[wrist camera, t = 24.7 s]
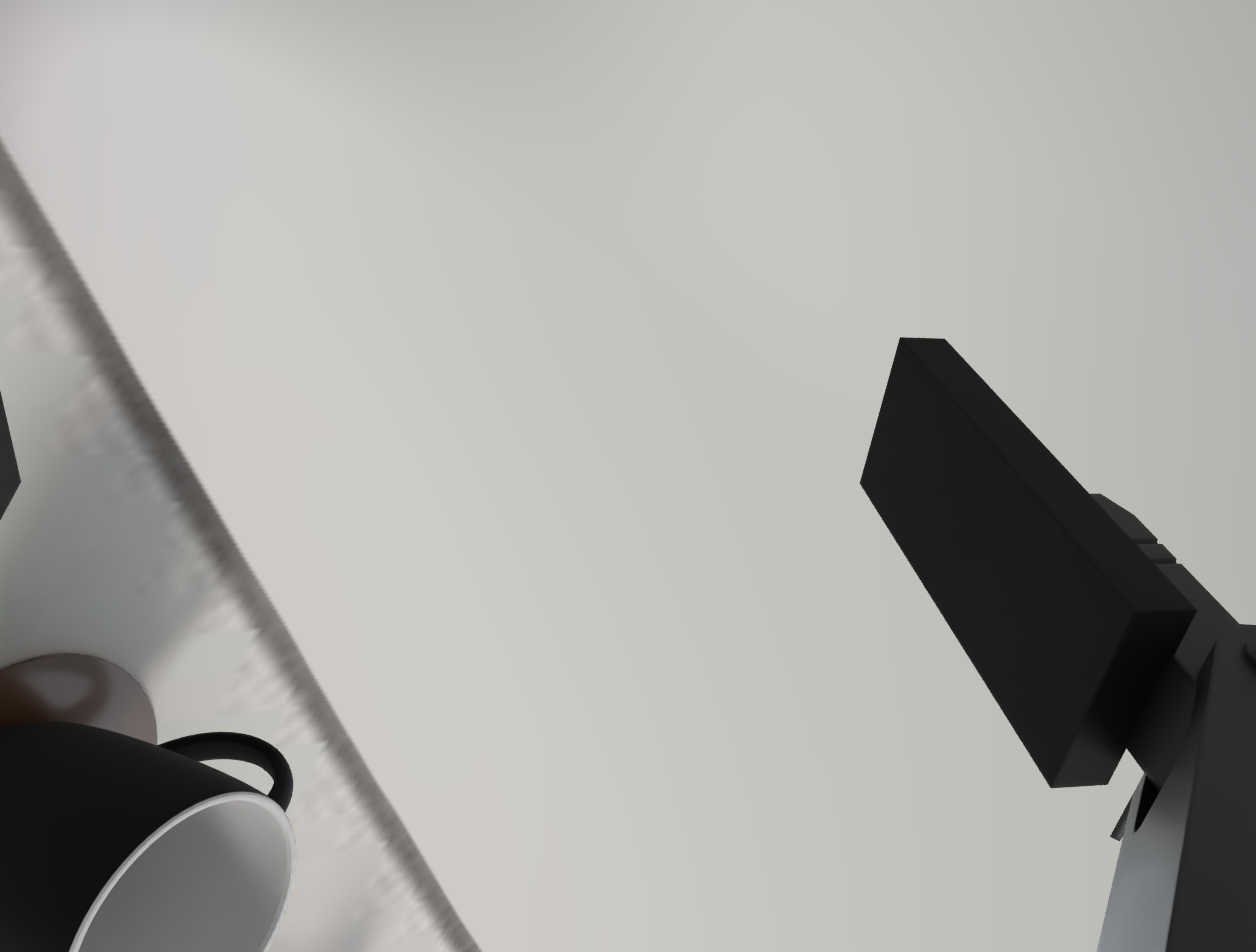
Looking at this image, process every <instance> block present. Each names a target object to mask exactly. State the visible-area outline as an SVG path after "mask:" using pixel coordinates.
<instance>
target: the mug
mask: <svg viewBox="0 0 1256 952" xmlns="http://www.w3.org/2000/svg"><path fill="white" fill-rule="evenodd" d="M213 759H233V760H241V761H245V762H249V763H252V764H255V765H258V766H259V767H261V768H263V769H264V770H265V771H267V772H268V773H269V774H270V776H271V777H272V778H273V780H274V784H273V787H272V789H271V791H270V792H269V794H268V795H265V794H264V793H262V792H260V791H259V790H257V789H255V788H253V787H252V786H250V785H248V784H246V783H244V782H242V781H240V780H238V779H236V778H234V777H232V776H230V775H227V774H225V773H223V772H221V771H219V770H217V769H214V768H212V767H210V766H207V765H205V764H203V763H200V762H199V761H205V760H213ZM292 791H293V777H292V773H291V770H290V767H289V764H288V763H287V761H286V759H285V758H284V756H283V755H282V754H281V753H280V752H279V751H278V749H276V748H275V747H274V746H272V745H271V744H269V743H267V742H265V741H263V740H261V739H259V738H256V737H254V736H250V735H246V734H241V733H233V732H210V733H202V734H196V735H191V736H186V737H182V738H178V739H175V740H172V741H169V742H166V743H163V744H160V745H154V744H151V743H148V742H146V741H143V740H140V739H137V738H134V737H130V736H127V735H124V734H121V733H117V732H114V731H110V730H106V729H102V728H98V727H94V726H89V725H84V724H79V723H72V722H63V721H39V722H30V723H24V724H19V725H15V726H11V727H8V728H5V729H2V730H0V952H267V950H268V949H269V947H270V945H271V943H272V941H273V939H274V937H275V935H276V933H277V931H278V928H279V926H280V924H281V921H282V919H283V916H284V914H285V911H286V908H287V905H288V902H289V899H290V895H291V891H292V887H293V882H294V877H295V869H296V843H295V837H294V832H293V829H292V825H291V823H290V821H289V818H288V817H287V815H286V813H285V812H286V810H287V808H288V805H289V803H290V800H291V797H292Z"/></svg>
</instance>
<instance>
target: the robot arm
mask: <svg viewBox="0 0 1256 952" xmlns="http://www.w3.org/2000/svg"><path fill="white" fill-rule="evenodd" d="M20 483H21V480H20V475H19V471H18V467H17V462H16V458H15V453H14V449H13V445H12V440H11V436H10V431H9V427H8V423H7V418H6V414H5V410H4V405H3V401H2V396H1V392H0V520H1V518H2V516H3V514H4V512H5V511H6V509H7V507H8V505H9V503H10V501H11V500H12V498H13V496H14V494H15V492H16V490H17V488H18V487H19V485H20ZM860 484H861V486H862V488H863V489H864V491H865V492H866V494H867V496H868V497H869V499H870V500H871V502H872V504H873V505H874V507H875V508H876V510H877V512H878V513H879V515H880V516H881V518H882V520H883V521H884V523H885V524H886V526H887V528H888V529H889V530H890V532H891V534H892V535H893V537H894V539H895V540H896V542H897V543H898V545H899V547H900V548H901V550H902V551H903V553H904V555H905V556H906V558H907V559H908V561H909V563H910V564H911V566H912V567H913V569H914V571H915V572H916V574H917V575H918V577H919V579H920V580H921V582H922V583H923V585H924V587H925V588H926V590H927V591H928V593H929V595H930V596H931V598H932V599H933V601H934V602H935V604H936V606H937V607H938V609H939V610H940V612H941V614H942V615H943V617H944V618H945V620H946V622H947V623H948V625H949V626H950V628H951V630H952V631H953V633H954V634H955V636H956V638H957V639H958V641H959V642H960V644H961V646H962V647H963V649H964V650H965V652H966V654H967V655H968V656H969V658H970V660H971V662H972V663H973V665H974V666H975V668H976V669H977V671H978V673H979V674H980V676H981V677H982V679H983V680H984V682H985V684H986V685H987V687H988V689H989V690H990V692H991V693H992V695H993V697H994V698H995V700H996V701H997V703H998V704H999V706H1000V708H1001V709H1002V711H1003V712H1004V714H1005V716H1006V717H1007V719H1008V720H1009V722H1010V724H1011V725H1012V727H1013V728H1014V730H1015V732H1016V733H1017V735H1018V736H1019V738H1020V740H1021V741H1022V742H1023V744H1024V746H1025V748H1026V749H1027V750H1028V752H1029V754H1030V756H1031V757H1032V759H1033V760H1034V762H1035V764H1036V765H1037V767H1038V768H1039V770H1040V772H1041V773H1042V775H1043V776H1044V778H1045V780H1046V781H1047V783H1048V784H1049V786H1050V787H1051V788H1061V787H1077V786H1094V785H1107V784H1108V783H1109V781H1110V779H1111V777H1112V775H1113V773H1114V771H1115V769H1116V767H1117V765H1118V763H1119V761H1120V759H1121V758H1122V756H1123V754H1124V752H1125V750H1126V748H1127V749H1128V751H1129V752H1130V753H1131V755H1132V756H1133V757H1134V759H1135V760H1136V762H1137V763H1138V764H1139V766H1140V767H1141V768H1142V770H1143V771H1144V775H1143V777H1142V778H1141V780H1140V782H1139V784H1138V786H1137V788H1136V790H1135V792H1134V793H1133V795H1132V797H1131V799H1130V801H1129V803H1128V805H1127V806H1126V808H1125V810H1124V812H1123V814H1122V816H1121V817H1120V819H1119V821H1118V823H1117V825H1116V827H1115V828H1114V831H1113V832H1112V834H1111V836H1110V837H1112V838H1114V839H1116V840H1118V841H1120V840H1121V838H1122V837H1123V840H1122V845H1121V849H1120V853H1119V858H1118V862H1117V866H1116V870H1115V875H1114V879H1113V883H1112V888H1111V892H1110V896H1109V901H1108V906H1107V909H1106V914H1105V918H1104V923H1103V927H1102V931H1101V936H1100V940H1099V944H1098V949H1097V952H1256V625H1244V624H1239V623H1238V622H1237V621H1236V620H1235V619H1234V618H1233V617H1232V616H1231V615H1230V614H1229V613H1228V612H1227V611H1226V610H1225V609H1224V608H1223V607H1222V606H1221V605H1220V603H1219V602H1218V601H1217V600H1216V599H1214V597H1213V596H1212V595H1211V594H1210V593H1209V592H1208V591H1206V589H1205V588H1204V587H1203V586H1202V585H1201V584H1200V583H1199V582H1198V581H1197V580H1196V579H1195V578H1194V577H1193V576H1192V575H1191V573H1189V571H1188V570H1187V569H1186V568H1185V567H1184V566H1183V565H1182V564H1177V563H1176V558H1175V557H1174V556H1173V555H1172V554H1171V553H1170V552H1169V551H1168V550H1167V549H1166V548H1165V547H1164V546H1163V544H1158V543H1157V538H1156V537H1155V536H1154V535H1153V534H1152V533H1151V532H1150V531H1149V530H1148V529H1147V528H1146V527H1145V526H1144V525H1143V524H1142V523H1141V522H1140V521H1139V520H1138V519H1137V518H1136V517H1135V516H1134V515H1133V514H1131V513H1130V512H1128V511H1127V510H1125V509H1124V508H1122V507H1120V506H1119V505H1117V504H1116V503H1114V502H1112V501H1111V500H1109V499H1108V498H1106V497H1105V496H1103V495H1101V494H1089V493H1088V492H1087V491H1086V490H1085V489H1084V488H1083V487H1082V486H1081V484H1079V482H1078V481H1077V480H1076V479H1075V478H1074V477H1073V476H1072V475H1071V474H1070V473H1069V472H1068V470H1067V469H1066V468H1065V467H1064V466H1063V465H1062V464H1061V463H1060V462H1059V461H1058V460H1057V459H1056V458H1055V457H1054V455H1052V453H1051V452H1050V451H1049V450H1048V449H1047V448H1046V447H1045V446H1044V445H1043V444H1042V443H1041V442H1040V440H1038V438H1037V437H1036V436H1035V435H1034V434H1033V433H1032V432H1031V431H1030V430H1029V429H1028V428H1027V427H1026V425H1025V424H1024V423H1023V422H1022V421H1021V420H1020V419H1019V418H1018V417H1017V416H1016V415H1015V414H1014V413H1013V412H1012V411H1011V409H1010V408H1009V407H1008V406H1007V405H1006V404H1005V403H1004V402H1003V401H1002V400H1001V399H1000V398H999V397H998V395H996V393H995V392H994V391H993V390H992V389H991V388H990V387H989V386H988V385H987V384H986V383H985V382H984V380H983V379H982V378H981V377H980V376H979V375H978V374H977V373H976V372H975V371H974V370H973V369H972V368H971V367H970V365H969V364H968V363H967V362H966V361H965V360H964V359H963V358H962V357H961V356H960V355H959V354H958V353H957V352H956V350H955V349H954V348H953V347H952V346H951V345H950V344H949V343H948V342H947V341H946V340H945V339H934V338H933V339H932V338H903V337H902V338H901V337H900V339H899V343H898V347H897V350H896V354H895V358H894V361H893V365H892V368H891V372H890V376H889V379H888V383H887V387H886V390H885V394H884V397H883V401H882V405H881V408H880V412H879V416H878V419H877V423H876V427H875V430H874V434H873V437H872V441H871V445H870V448H869V452H868V456H867V459H866V463H865V467H864V470H863V474H862V477H861V481H860Z"/></svg>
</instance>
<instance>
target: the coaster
mask: <svg viewBox="0 0 1256 952" xmlns="http://www.w3.org/2000/svg"><path fill="white" fill-rule="evenodd" d="M39 721H63V722H72V723H79V724H84V725H89V726H94V727H98V728H102V729H106V730H110V731H114V732H117V733H121V734H124V735H127V736H130V737H134V738H137V739H140V740H143V741H146V742H148V743H151V744H154V745H157V730H156V721H155V717H154V713H153V709H152V707H151V704H150V702H149V700H148V697H147V695H146V694H145V692H144V691H143V689H142V688H141V686H140V685H139V684H138V683H137V682H136V680H135V679H134V678H133V677H132V676H131V675H130V674H128V673H127V672H125V671H124V670H122V669H121V668H120V667H118V666H116V665H114V664H112V663H109V662H107V661H105V660H103V659H99V658H95V657H91V656H87V655H76V654H61V655H50V656H44V657H39V658H34V659H30V660H27V661H24V662H21V663H17V664H14V665H12V666H10V667H7V668H5V669H3V670H0V730H2V729H5V728H8V727H11V726H15V725H19V724H24V723H30V722H39Z"/></svg>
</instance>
